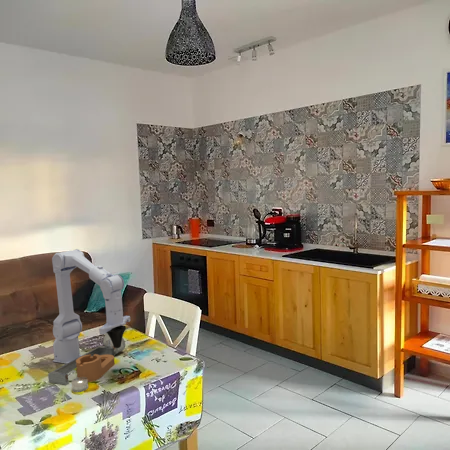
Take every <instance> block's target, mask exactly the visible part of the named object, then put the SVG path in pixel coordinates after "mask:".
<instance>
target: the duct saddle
mask: <svg viewBox="0 0 450 450" xmlns="http://www.w3.org/2000/svg"><path fill="white" fill-rule="evenodd" d="M125 349H126V341H125V339H124V338H123V337H122V342H121V347H119V348H114V346H113V343H112V341H111V339H109V340H107V341H106V342H105V344H103V345H102V346H101V345H99V346H97V347H95V348H93V349H91V350H89V351H88V352H86V353H84V354H81V355H82V356H84V355H89V354H91V356H93V355H94V354H98V355H107V354H108V355H113V356H114V357H115V356H116V355H118V354H119V353H121V352H123V350H125ZM82 356H80V357H82ZM78 358H79V357H78ZM78 358H76V359H75V360H73V361H71V362H69V363H67V364H66V363H64V364H63V365H62V366H60V367H58V368H56V369H55V370H52V371H50V372H49V373H47V377H48V379H47V380H48V382H49V383H52V384H57V385H62V386H67V385H69V384H70V383H69V374H68V373H69V372H71V371H73V370H75V369H77V367H76V360H77V359H78Z"/></svg>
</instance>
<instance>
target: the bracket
mask: <svg viewBox="0 0 450 450" xmlns="http://www.w3.org/2000/svg"><path fill="white" fill-rule="evenodd" d="M83 355H84V354H83ZM114 366H115V355H114V356H113V355H108V354H107V355H98V354H94V355H93V356H91V354H89V355H84V356H82V357H79V358H78V359H77V360H76V367H77V368H76V375H77V376H76V378H78V377H87V380H88V383H92V382H93V383H94V382H95V381H97V380H100V379H101V378H102V377H103V376H104V375H105V374H106V373H107V372H108V371H109V370H110V369H112V368H113V367H114Z"/></svg>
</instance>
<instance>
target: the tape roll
mask: <svg viewBox="0 0 450 450" xmlns="http://www.w3.org/2000/svg"><path fill="white" fill-rule="evenodd" d="M88 388H89V382H88V380H87V377H78V378H77V377H74V378H73V379H72V380H71V389H72V392H73V393H81V392H84V391H87V389H88Z"/></svg>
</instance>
